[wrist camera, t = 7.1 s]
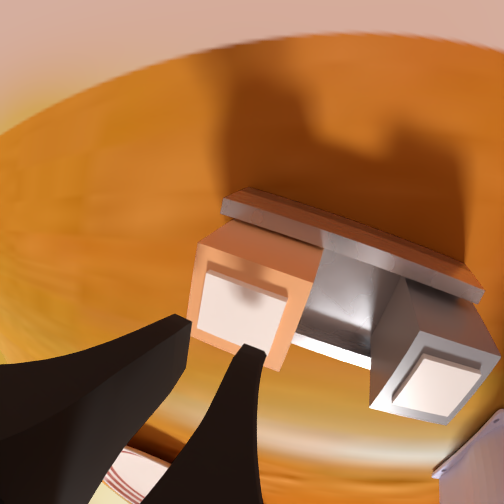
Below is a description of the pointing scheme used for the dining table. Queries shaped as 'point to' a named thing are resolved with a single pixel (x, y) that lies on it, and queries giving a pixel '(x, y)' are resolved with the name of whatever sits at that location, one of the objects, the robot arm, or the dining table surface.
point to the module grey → (428, 354)
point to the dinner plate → (135, 474)
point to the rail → (349, 271)
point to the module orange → (251, 289)
